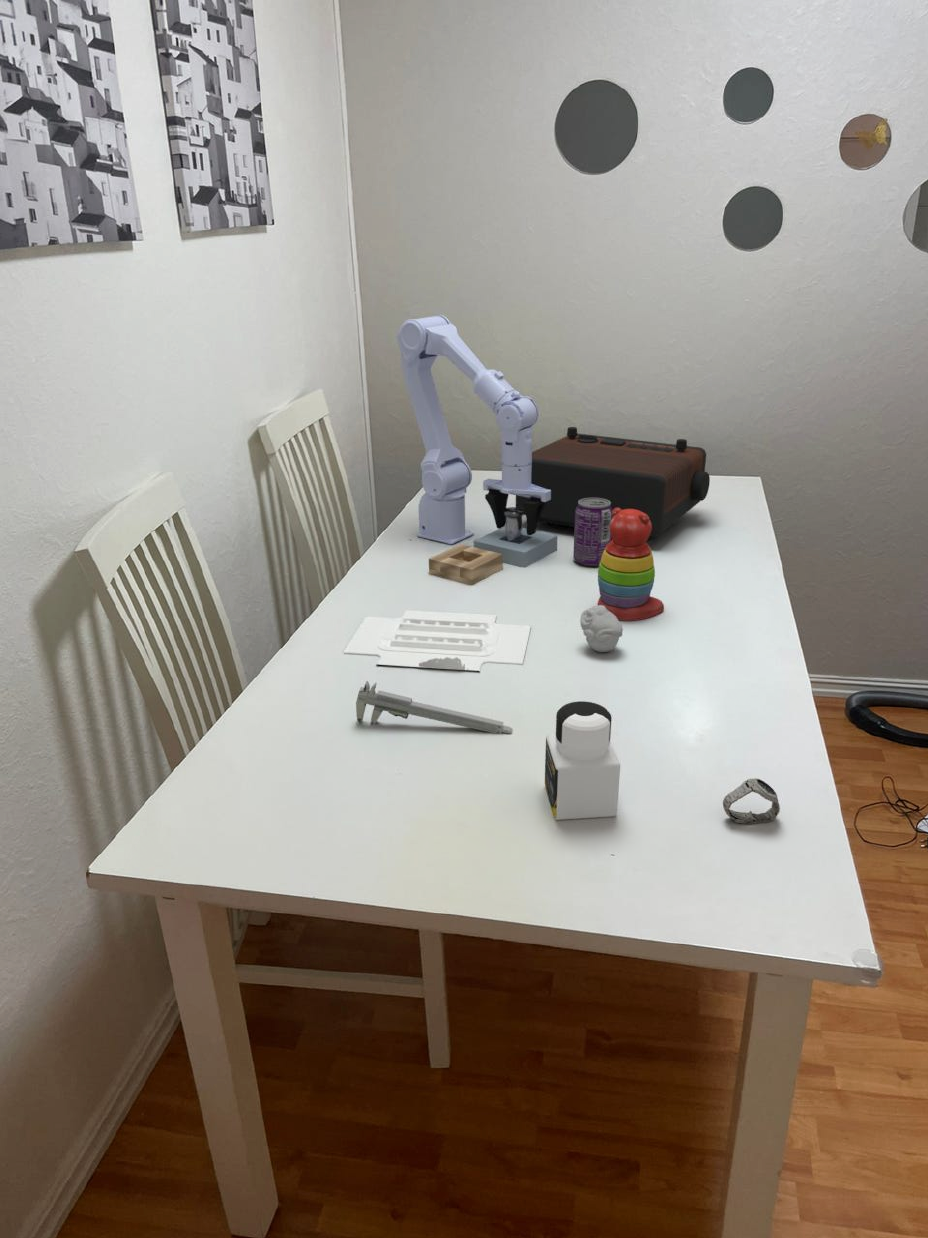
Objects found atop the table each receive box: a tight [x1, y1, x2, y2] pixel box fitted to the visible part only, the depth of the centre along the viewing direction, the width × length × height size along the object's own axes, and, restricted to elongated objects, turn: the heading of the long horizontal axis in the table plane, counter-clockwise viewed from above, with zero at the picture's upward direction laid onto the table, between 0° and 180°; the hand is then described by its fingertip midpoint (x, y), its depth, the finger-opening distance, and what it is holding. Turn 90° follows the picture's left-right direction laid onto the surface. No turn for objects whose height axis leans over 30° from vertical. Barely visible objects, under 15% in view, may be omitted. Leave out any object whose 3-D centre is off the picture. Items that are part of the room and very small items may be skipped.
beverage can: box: [572, 498, 613, 567], centre depth 171 cm, size 7×7×12 cm
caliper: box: [355, 680, 513, 735], centre depth 117 cm, size 21×1×6 cm, turn 82°
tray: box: [343, 610, 532, 672], centre depth 142 cm, size 20×28×4 cm
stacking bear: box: [596, 508, 665, 621], centre depth 149 cm, size 11×10×18 cm
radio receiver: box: [515, 426, 711, 541], centre depth 192 cm, size 35×27×18 cm
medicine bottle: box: [544, 700, 621, 821], centre depth 101 cm, size 7×7×12 cm
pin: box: [504, 506, 525, 544], centre depth 176 cm, size 4×4×8 cm
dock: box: [473, 525, 558, 568], centre depth 179 cm, size 12×12×3 cm
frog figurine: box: [579, 604, 624, 653], centre depth 137 cm, size 6×7×7 cm
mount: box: [428, 543, 504, 586], centre depth 169 cm, size 10×10×3 cm
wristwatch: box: [722, 777, 781, 826], centre depth 99 cm, size 4×6×5 cm, turn 95°
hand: (515, 530), depth 177 cm, fingers open, 7 cm apart
